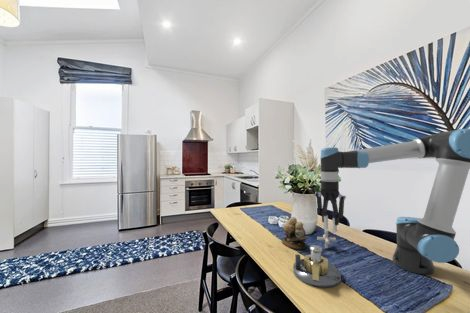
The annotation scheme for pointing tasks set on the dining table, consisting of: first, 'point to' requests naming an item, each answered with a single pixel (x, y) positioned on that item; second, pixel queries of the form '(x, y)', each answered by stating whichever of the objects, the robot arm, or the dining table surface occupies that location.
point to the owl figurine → (294, 235)
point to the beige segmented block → (316, 266)
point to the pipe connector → (326, 239)
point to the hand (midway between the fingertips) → (330, 230)
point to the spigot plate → (324, 280)
